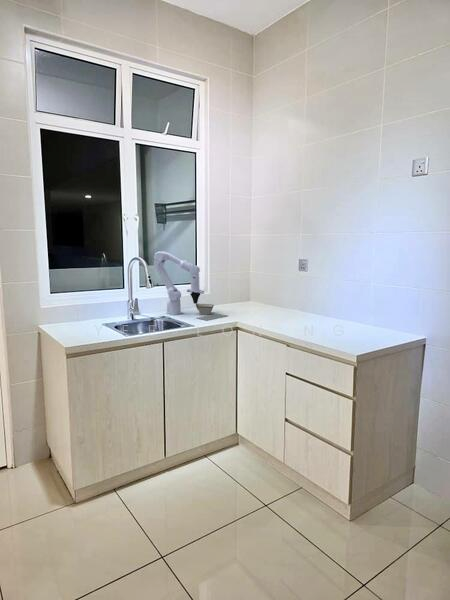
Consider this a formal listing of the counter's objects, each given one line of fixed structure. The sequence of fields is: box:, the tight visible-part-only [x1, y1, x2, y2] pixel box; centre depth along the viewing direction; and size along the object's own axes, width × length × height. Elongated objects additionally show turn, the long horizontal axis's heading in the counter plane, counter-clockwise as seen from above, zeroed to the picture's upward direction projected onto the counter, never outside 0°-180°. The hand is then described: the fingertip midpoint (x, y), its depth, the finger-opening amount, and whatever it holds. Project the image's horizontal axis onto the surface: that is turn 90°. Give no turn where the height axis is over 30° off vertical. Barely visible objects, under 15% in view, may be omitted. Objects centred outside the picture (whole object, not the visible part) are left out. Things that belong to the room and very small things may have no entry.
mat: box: [195, 313, 229, 321], centre depth 256 cm, size 10×20×1 cm, turn 136°
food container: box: [195, 302, 215, 316], centre depth 268 cm, size 12×6×10 cm
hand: (195, 303), depth 266 cm, fingers closed
